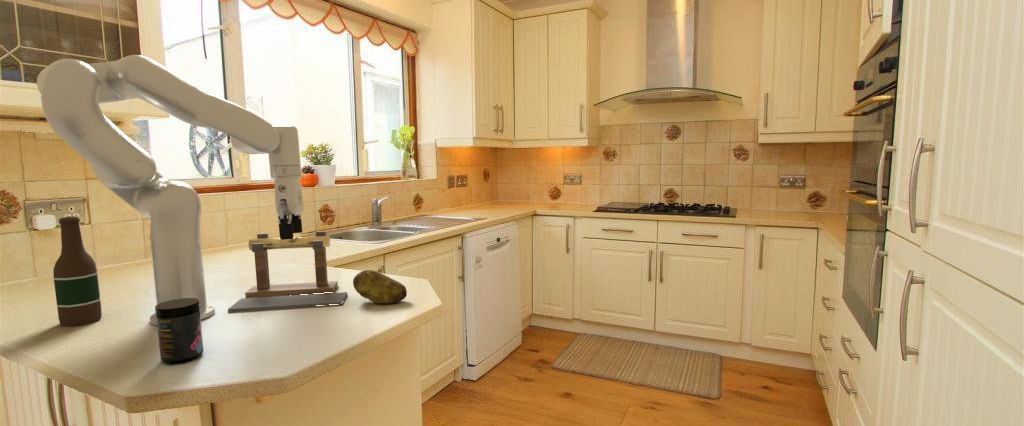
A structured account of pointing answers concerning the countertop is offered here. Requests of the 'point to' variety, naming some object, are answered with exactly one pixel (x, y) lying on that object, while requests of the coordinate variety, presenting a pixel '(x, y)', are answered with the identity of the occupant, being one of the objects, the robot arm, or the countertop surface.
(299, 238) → the rail
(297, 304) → the mat
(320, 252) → the hook stand
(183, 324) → the supplement container
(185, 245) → the robot arm
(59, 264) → the beer bottle
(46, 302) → the countertop surface
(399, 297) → the potato
